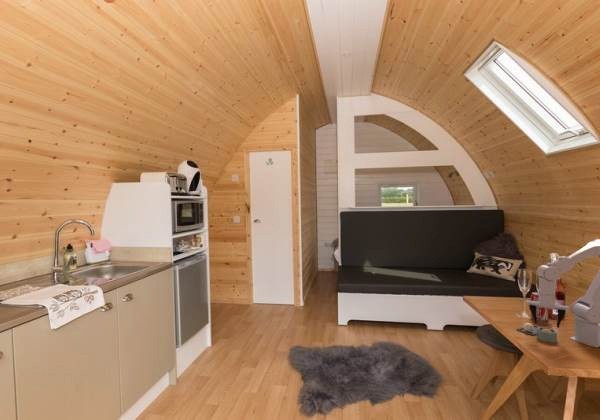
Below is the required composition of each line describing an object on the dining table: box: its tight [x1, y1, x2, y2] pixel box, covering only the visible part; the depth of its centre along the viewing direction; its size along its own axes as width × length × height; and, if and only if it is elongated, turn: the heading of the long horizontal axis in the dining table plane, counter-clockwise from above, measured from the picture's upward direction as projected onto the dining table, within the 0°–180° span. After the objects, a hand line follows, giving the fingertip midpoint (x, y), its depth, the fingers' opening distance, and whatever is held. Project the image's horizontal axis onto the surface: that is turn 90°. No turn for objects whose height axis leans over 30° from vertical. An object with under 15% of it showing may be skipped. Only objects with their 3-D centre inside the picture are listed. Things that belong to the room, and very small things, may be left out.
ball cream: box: [522, 322, 534, 332], centre depth 149 cm, size 4×4×4 cm
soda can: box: [530, 291, 549, 322], centre depth 165 cm, size 7×7×13 cm
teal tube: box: [536, 326, 558, 343], centre depth 141 cm, size 7×7×4 cm
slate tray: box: [516, 324, 539, 337], centre depth 150 cm, size 7×12×1 cm, turn 114°
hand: (546, 324), depth 141 cm, fingers open, 7 cm apart
